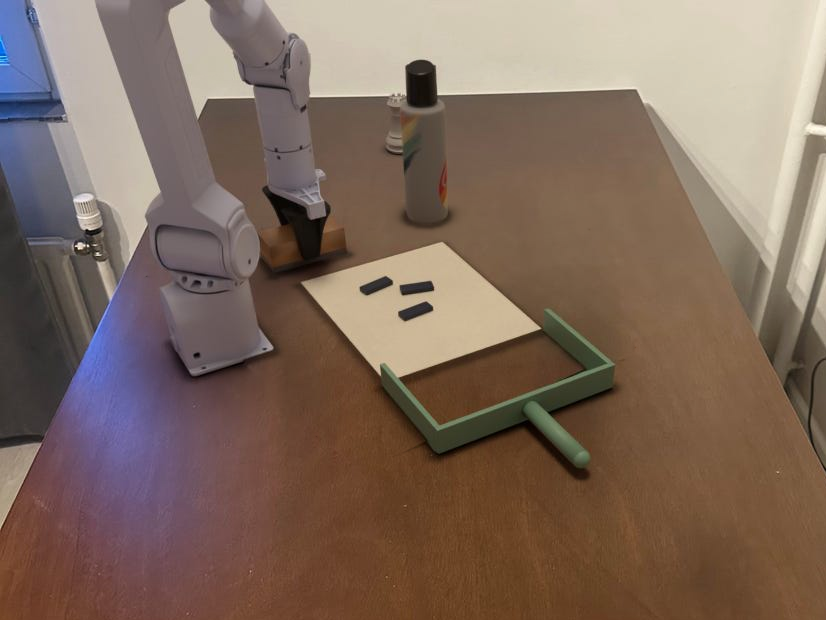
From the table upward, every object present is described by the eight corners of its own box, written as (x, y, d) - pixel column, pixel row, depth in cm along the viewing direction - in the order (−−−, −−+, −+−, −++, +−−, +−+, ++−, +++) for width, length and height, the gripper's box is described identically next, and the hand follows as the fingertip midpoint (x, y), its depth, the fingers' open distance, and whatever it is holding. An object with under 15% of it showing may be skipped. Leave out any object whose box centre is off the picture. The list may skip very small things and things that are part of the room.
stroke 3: (404, 321, 104) (404, 317, 103) (398, 315, 104) (397, 311, 104) (433, 310, 105) (433, 306, 105) (426, 305, 106) (426, 300, 106)
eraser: (274, 276, 112) (269, 247, 109) (261, 260, 115) (256, 232, 112) (347, 256, 115) (344, 227, 113) (333, 241, 118) (329, 213, 115)
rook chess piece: (382, 146, 140) (378, 93, 134) (408, 141, 141) (405, 88, 136) (392, 157, 137) (388, 103, 131) (419, 151, 138) (416, 98, 133)
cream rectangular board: (385, 385, 96) (385, 381, 95) (301, 285, 110) (300, 282, 110) (541, 332, 103) (541, 328, 102) (442, 245, 117) (442, 241, 117)
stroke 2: (402, 295, 108) (401, 291, 107) (399, 289, 109) (399, 285, 108) (434, 290, 108) (434, 286, 108) (431, 284, 109) (431, 280, 109)
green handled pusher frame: (382, 388, 95) (379, 364, 93) (547, 331, 103) (548, 307, 101) (490, 517, 81) (490, 492, 79) (671, 440, 89) (676, 415, 87)
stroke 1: (366, 295, 108) (366, 291, 107) (359, 291, 108) (359, 286, 108) (393, 284, 109) (393, 280, 109) (386, 279, 110) (385, 275, 110)
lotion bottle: (450, 208, 125) (446, 56, 111) (445, 227, 121) (440, 72, 107) (410, 206, 125) (401, 55, 111) (403, 225, 121) (393, 71, 107)
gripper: (344, 157, 101) (355, 265, 111) (295, 115, 110) (310, 217, 120) (285, 171, 99) (302, 280, 108) (241, 126, 108) (260, 230, 117)
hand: (303, 248), depth 114 cm, fingers open, 5 cm apart
